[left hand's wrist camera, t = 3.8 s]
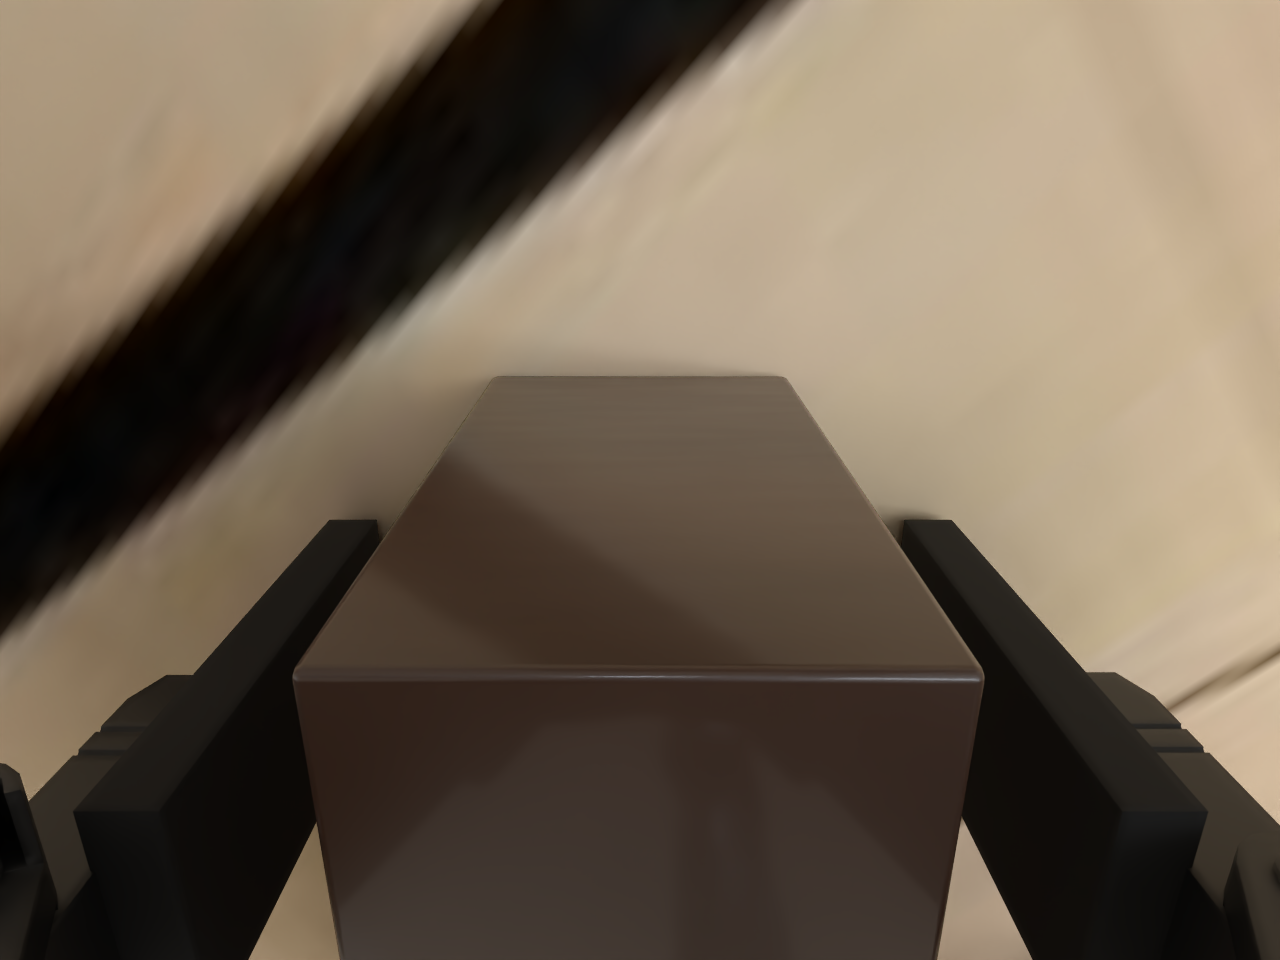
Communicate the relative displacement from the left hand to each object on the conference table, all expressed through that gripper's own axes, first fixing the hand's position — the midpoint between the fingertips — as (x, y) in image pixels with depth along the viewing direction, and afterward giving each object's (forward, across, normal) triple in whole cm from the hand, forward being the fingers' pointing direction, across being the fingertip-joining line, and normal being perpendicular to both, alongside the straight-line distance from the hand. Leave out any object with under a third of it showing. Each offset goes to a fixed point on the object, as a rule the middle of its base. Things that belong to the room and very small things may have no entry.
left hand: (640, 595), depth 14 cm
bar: (0, 0, -8) cm, 8 cm away
